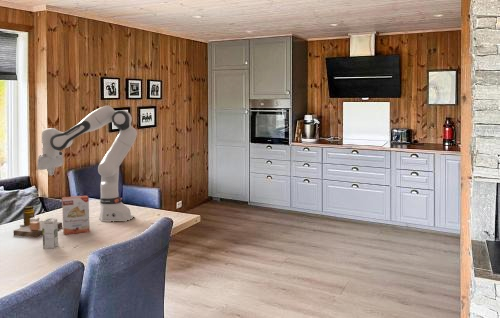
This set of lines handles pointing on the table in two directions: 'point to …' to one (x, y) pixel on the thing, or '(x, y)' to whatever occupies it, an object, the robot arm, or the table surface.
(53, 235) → the syrup box
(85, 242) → the table surface
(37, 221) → the white fader
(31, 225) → the orange fader
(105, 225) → the table surface
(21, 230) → the console
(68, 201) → the cracker box
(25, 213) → the condiment
